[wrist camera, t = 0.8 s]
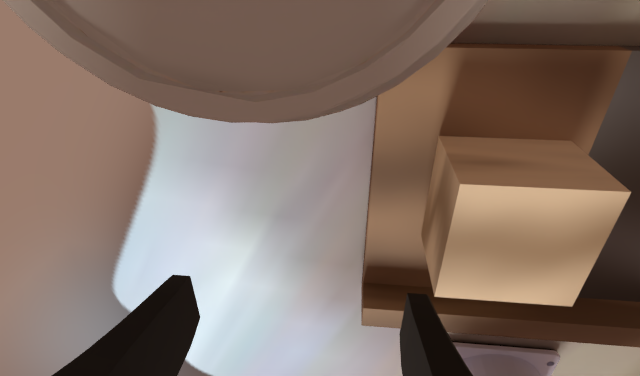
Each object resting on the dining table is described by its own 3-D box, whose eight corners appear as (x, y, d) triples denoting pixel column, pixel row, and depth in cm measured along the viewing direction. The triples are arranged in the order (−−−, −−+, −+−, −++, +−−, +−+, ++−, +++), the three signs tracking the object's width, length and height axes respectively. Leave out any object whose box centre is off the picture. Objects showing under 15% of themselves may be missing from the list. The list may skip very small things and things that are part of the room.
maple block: (532, 241, 20) (572, 306, 16) (420, 234, 21) (434, 296, 17) (571, 140, 17) (631, 192, 13) (438, 135, 18) (460, 183, 14)
